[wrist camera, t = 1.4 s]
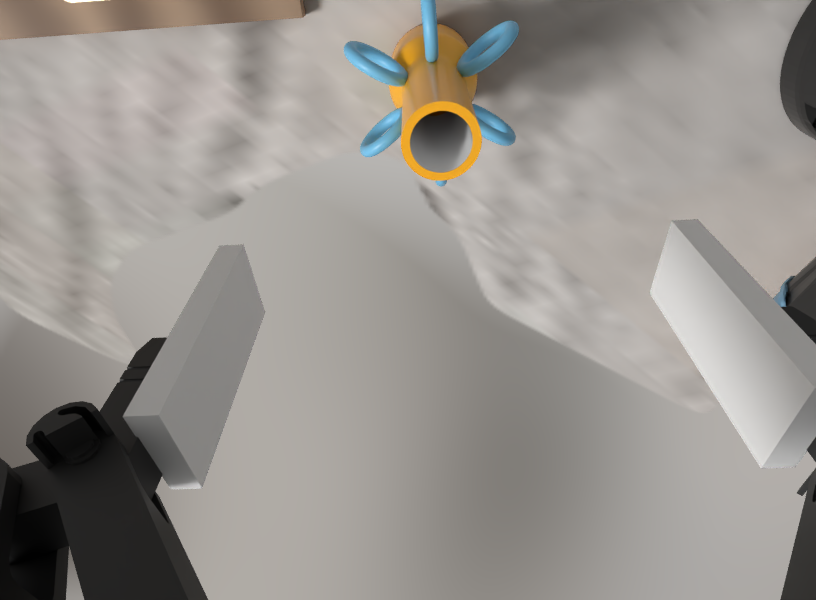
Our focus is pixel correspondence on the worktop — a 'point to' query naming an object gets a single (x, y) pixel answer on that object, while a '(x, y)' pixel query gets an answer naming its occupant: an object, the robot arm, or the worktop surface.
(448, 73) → the cylinder
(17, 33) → the seat plate
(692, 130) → the worktop surface
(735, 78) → the worktop surface
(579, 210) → the worktop surface
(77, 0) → the tan flat ring
